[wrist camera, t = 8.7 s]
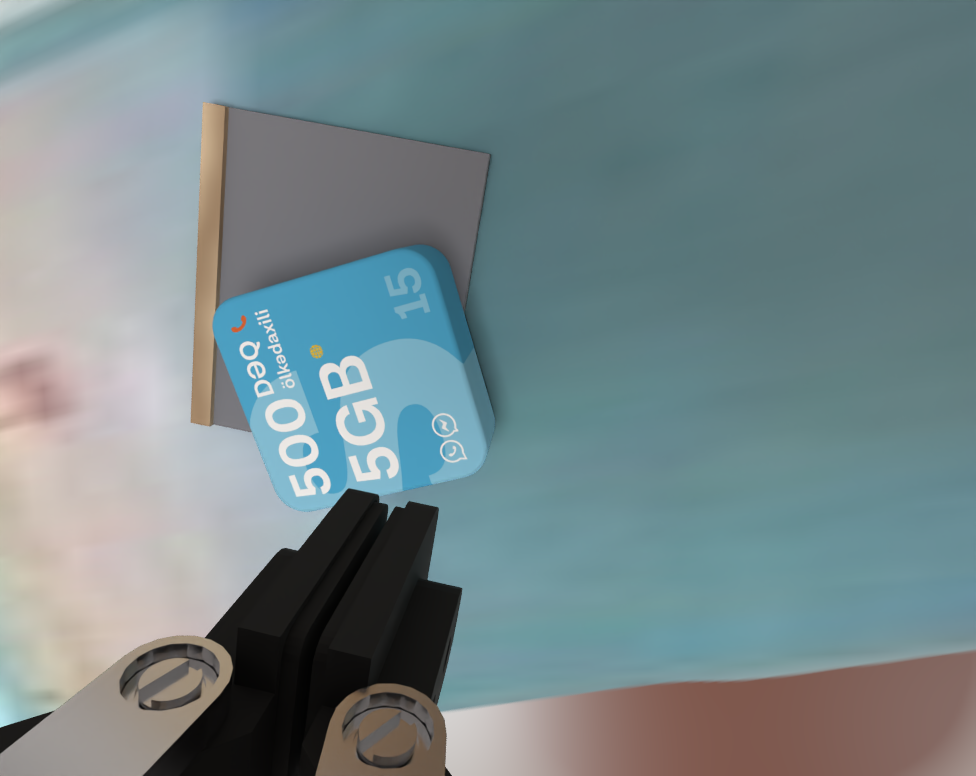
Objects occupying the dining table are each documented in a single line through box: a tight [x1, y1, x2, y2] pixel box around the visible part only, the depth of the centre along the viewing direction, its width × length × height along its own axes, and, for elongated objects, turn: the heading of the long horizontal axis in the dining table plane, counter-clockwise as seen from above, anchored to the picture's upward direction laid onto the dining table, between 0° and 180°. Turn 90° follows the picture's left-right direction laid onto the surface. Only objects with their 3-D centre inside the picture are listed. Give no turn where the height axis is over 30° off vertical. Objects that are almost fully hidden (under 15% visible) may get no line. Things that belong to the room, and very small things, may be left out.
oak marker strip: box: [191, 102, 229, 426], centre depth 35 cm, size 1×18×1 cm, turn 170°
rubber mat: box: [213, 107, 491, 432], centre depth 35 cm, size 14×18×1 cm
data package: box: [212, 244, 495, 512], centre depth 33 cm, size 12×4×12 cm
